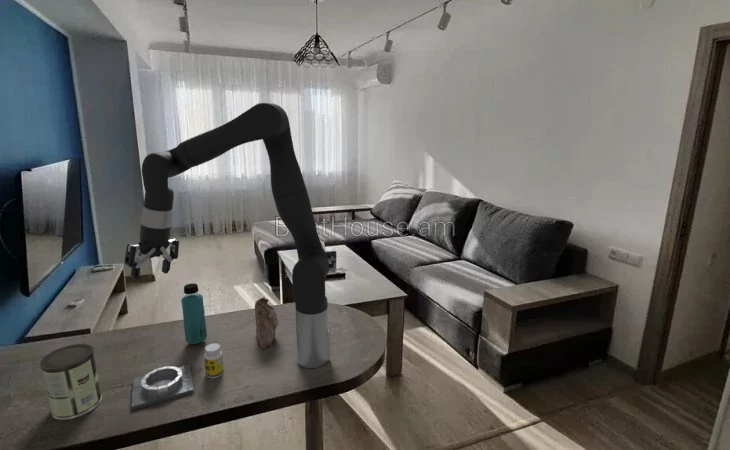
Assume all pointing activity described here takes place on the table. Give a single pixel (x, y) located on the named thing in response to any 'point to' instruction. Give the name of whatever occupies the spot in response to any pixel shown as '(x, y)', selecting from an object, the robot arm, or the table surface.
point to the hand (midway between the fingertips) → (150, 275)
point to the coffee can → (71, 381)
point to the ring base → (161, 385)
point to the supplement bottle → (213, 361)
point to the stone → (265, 322)
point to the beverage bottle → (193, 315)
